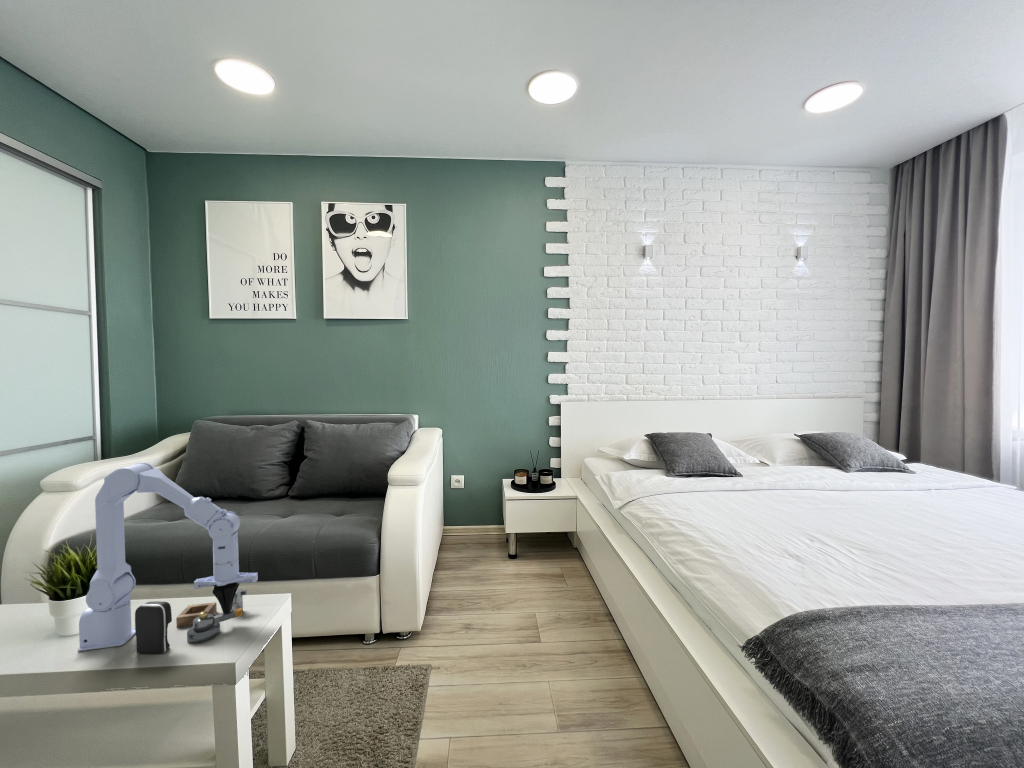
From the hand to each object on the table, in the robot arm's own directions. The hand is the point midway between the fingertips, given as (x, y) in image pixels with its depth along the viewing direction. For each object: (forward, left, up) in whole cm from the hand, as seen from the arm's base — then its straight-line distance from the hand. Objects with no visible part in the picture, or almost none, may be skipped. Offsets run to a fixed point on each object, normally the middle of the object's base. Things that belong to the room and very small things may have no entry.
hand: (227, 611), depth 124 cm
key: (0, +7, -4) cm, 8 cm away
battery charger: (-13, -8, -4) cm, 16 cm away
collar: (-1, -3, -1) cm, 3 cm away
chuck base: (-4, -5, -4) cm, 7 cm away
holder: (-9, +6, -4) cm, 12 cm away
